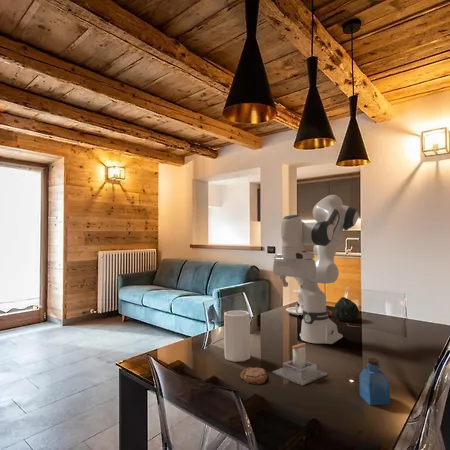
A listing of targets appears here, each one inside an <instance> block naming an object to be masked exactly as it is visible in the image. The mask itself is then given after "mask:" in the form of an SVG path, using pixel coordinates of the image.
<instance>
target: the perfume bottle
mask: <svg viewBox="0 0 450 450" xmlns="http://www.w3.org/2000/svg"><path fill="white" fill-rule="evenodd" d="M379 361H380V360H379V359H378V358H375V357H368V358H367V362H366V363H367V368H366V367H365V368H363V369H362V370H361V372H360V374H359V376H358V378H359V379H358V381H359V382H358V384H359V396H360V397H361V398H362V399H363V400H364V401H365V402H366V403H367V404H368V405H369V406H377V405H378V406H380V405H381V406H382V405H390V404H391V392H390V381H389V380H388V378H387V377H386V375H385V373H384V372H383V371H382V370H380V363H379Z"/></svg>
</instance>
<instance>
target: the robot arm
mask: <svg viewBox="0 0 450 450" xmlns="http://www.w3.org/2000/svg"><path fill="white" fill-rule="evenodd" d="M301 217H302V216H301V215H299V214H291V215H286V216H283V218H282V219H281V223H280V224H281V225H280V227H281V228H280V237H281V240H282V244H281V253H276V254H274V257H273V265H272V273H273V274H274V276H279V277H280V280H281V283H282V287H285V288H287V287H289V282H287V280H286V278H287V277H291V278H293V279H295V281H296V282H297V284H298V283H299V285H300V288H301V290H302V295H303V312H302V314H303V316H302V320H301V329H300V333H299V337H300V339H301V341H304V342H306V343H310V344H311V343H312V344H327V345H328V344H329V345H333V344H334V343H336V342H337V341H339V340H341V339H342V338H344V336H343V334H341V333H339V331H338V326H337V324H336V323H335V322H334V321H332V320H331V319H330V317H329V316H332V314H333V313H332V310H327V296H326V294H325V292H323V290H322V289H320V287H319V285H318V284H325V285H326V284H332V283H335V282H336V281H337V280H338V277H339V268H338V266H337V265H336V264H335V260H334V259H335V256H336V253H337V250H338V248H339V247H340V244H341V242H342V238H343V234H344V231H348V230H349V229H351V228H353V227H354V226H355V225H356V224H357V222H358V219H359V211H358V210H357V208H355V207H352V206H349V205H345V204H343V200H342V198H341V197H339V196H338V195H336V194H330V195H327V196H325V197H324V198H322V199H321V200H319V201H318V202H317V203H316V204H315V205H314V207H313V209H312V217H313V219H314V220H315V221H313V222H304V221H303V220H302V218H301ZM304 246H313V247H312V249H313V252H311V251H309V250H307V249H305V248H304ZM315 256H316V257H315ZM299 285H298V286H299Z"/></svg>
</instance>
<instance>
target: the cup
mask: <svg viewBox="0 0 450 450" xmlns="http://www.w3.org/2000/svg"><path fill="white" fill-rule="evenodd" d="M223 314H224V316H223V323H224V325H223V326H224V327H223V328H224V329H223V333H224V335H223V336H224V337H223V338H224V340H223V341H224V345H223V346H224V347H223V348H224V358H225V360H226V361H230V362H234V363H235V362H237V363H238V362H246V361H247V360H250V359H251V324H250V323H251V317H250V315H251V314H250V313H249V311H247V310H240V309H239V310H228V311H225V312H223Z"/></svg>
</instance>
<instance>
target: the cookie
mask: <svg viewBox="0 0 450 450" xmlns="http://www.w3.org/2000/svg"><path fill="white" fill-rule="evenodd" d="M239 377H240V379H241V380H243V382H245V383H247V384H251V385H262V384H264V383H266V381H267V380H268V373H267V371H266V369H264V368H260V367H252V366H250V367H247V368H245V369H243V370H242V371H241V372H240V374H239Z"/></svg>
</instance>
